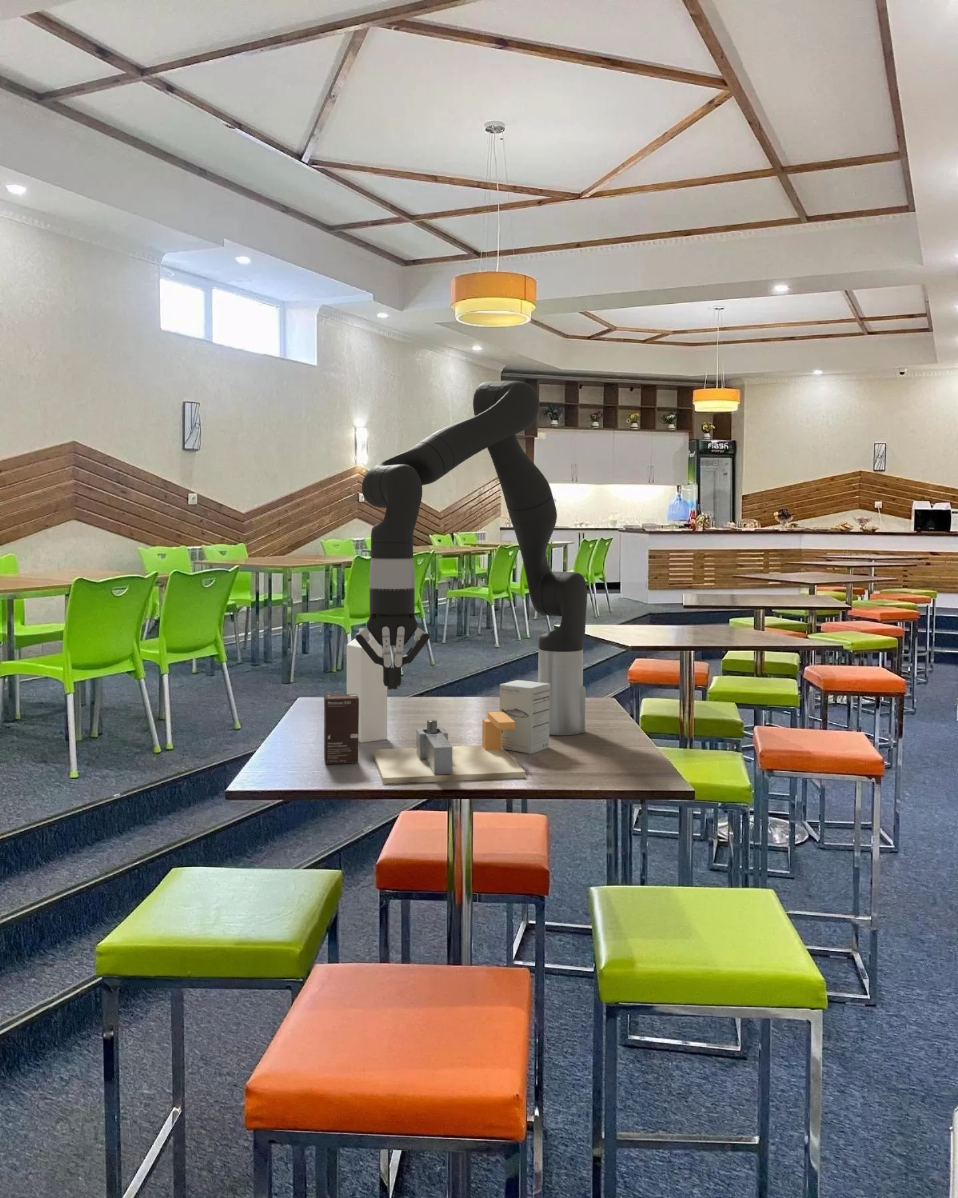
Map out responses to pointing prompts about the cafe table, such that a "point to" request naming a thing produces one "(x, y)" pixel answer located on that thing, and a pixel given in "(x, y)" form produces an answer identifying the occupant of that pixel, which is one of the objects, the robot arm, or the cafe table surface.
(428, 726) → the pintle
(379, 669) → the milk
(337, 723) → the box
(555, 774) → the cafe table surface
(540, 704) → the supplement box
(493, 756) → the board
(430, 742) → the link
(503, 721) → the block
